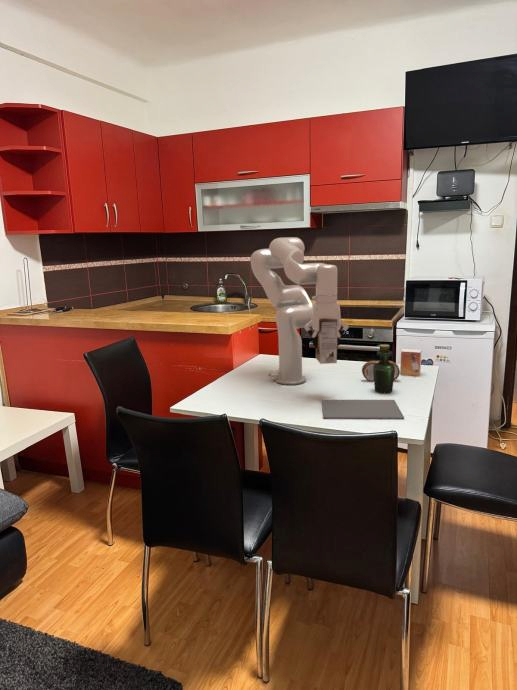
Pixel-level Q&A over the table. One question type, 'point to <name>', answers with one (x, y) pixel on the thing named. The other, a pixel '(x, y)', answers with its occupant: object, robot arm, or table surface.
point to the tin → (369, 372)
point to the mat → (361, 409)
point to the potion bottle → (384, 371)
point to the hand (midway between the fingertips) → (326, 347)
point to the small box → (410, 362)
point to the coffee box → (327, 341)
